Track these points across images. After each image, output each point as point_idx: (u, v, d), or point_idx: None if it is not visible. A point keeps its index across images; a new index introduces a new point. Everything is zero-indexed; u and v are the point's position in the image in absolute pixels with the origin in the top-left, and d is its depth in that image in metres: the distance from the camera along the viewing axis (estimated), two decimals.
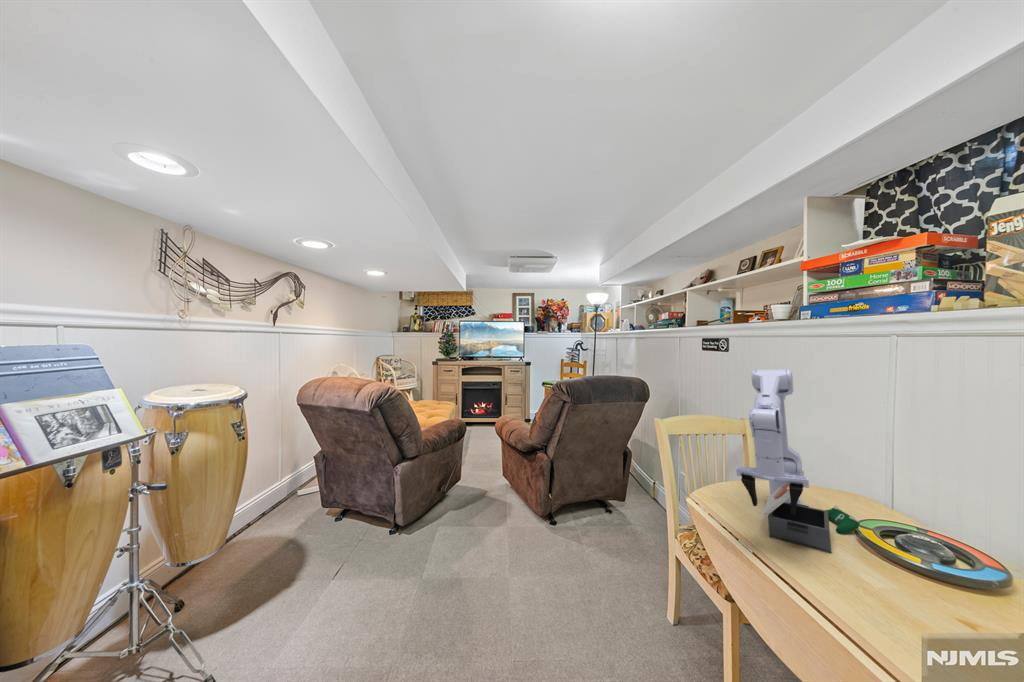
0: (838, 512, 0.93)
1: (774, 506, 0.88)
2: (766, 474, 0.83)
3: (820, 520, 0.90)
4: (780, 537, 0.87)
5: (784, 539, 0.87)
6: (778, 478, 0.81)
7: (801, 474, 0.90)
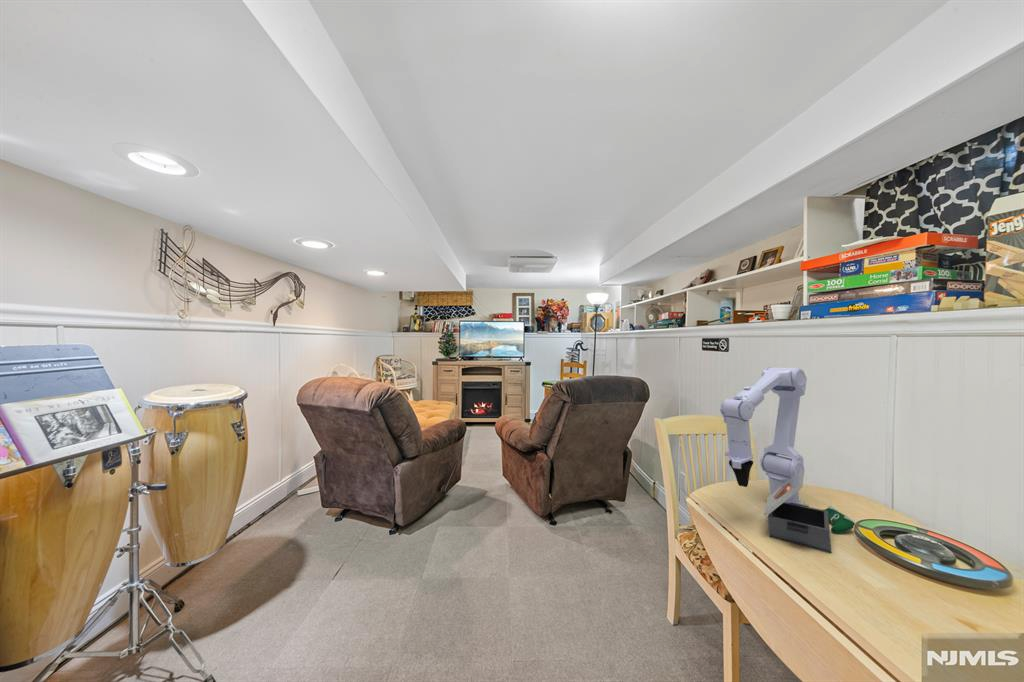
0: (833, 512, 0.93)
1: (774, 506, 0.88)
2: None
3: (820, 520, 0.90)
4: (780, 537, 0.87)
5: (784, 539, 0.87)
6: (729, 455, 0.98)
7: (801, 474, 0.90)
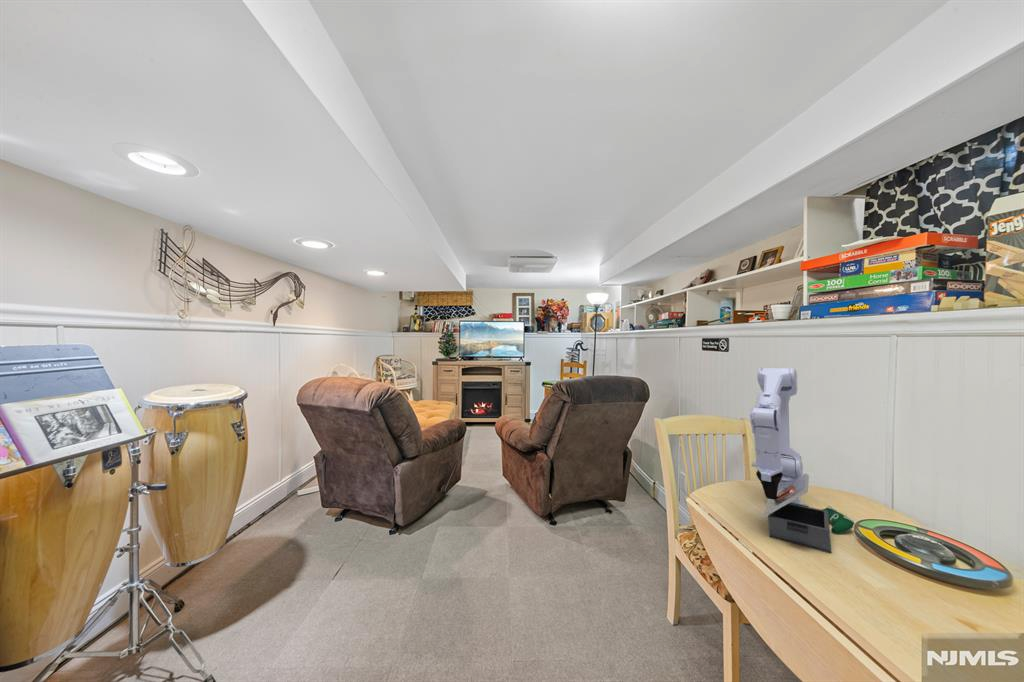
0: (832, 512, 0.93)
1: (776, 507, 0.87)
2: None
3: (820, 520, 0.90)
4: (780, 537, 0.87)
5: (784, 539, 0.87)
6: (756, 466, 0.94)
7: (806, 478, 0.90)
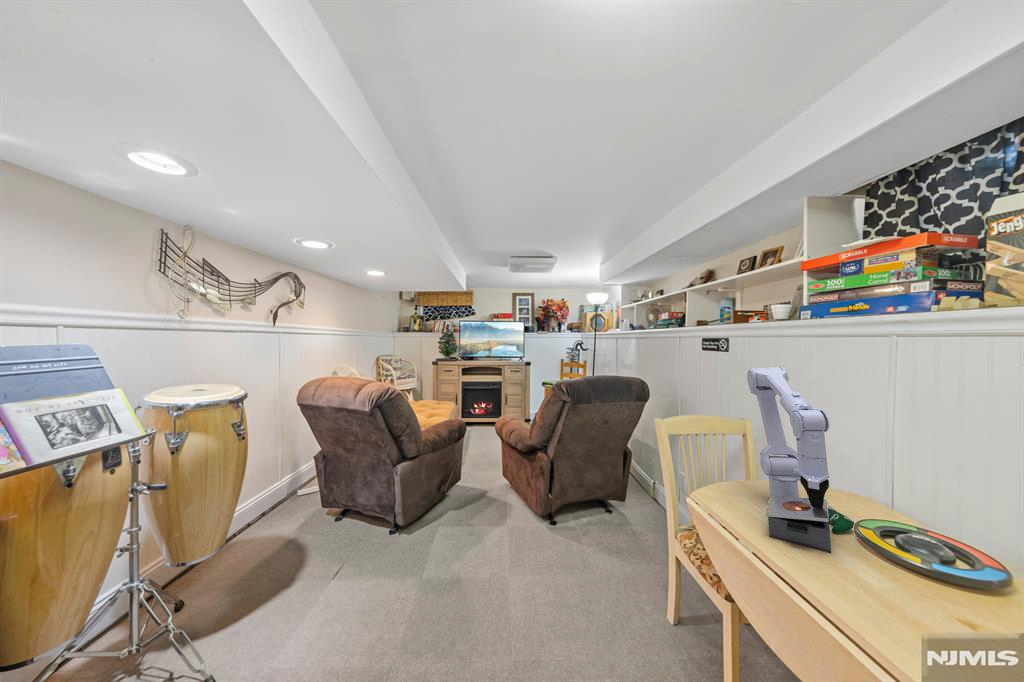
0: (832, 512, 0.93)
1: (782, 515, 0.86)
2: (799, 468, 0.89)
3: None
4: (780, 537, 0.87)
5: (784, 539, 0.87)
6: (800, 473, 0.87)
7: (827, 505, 0.87)
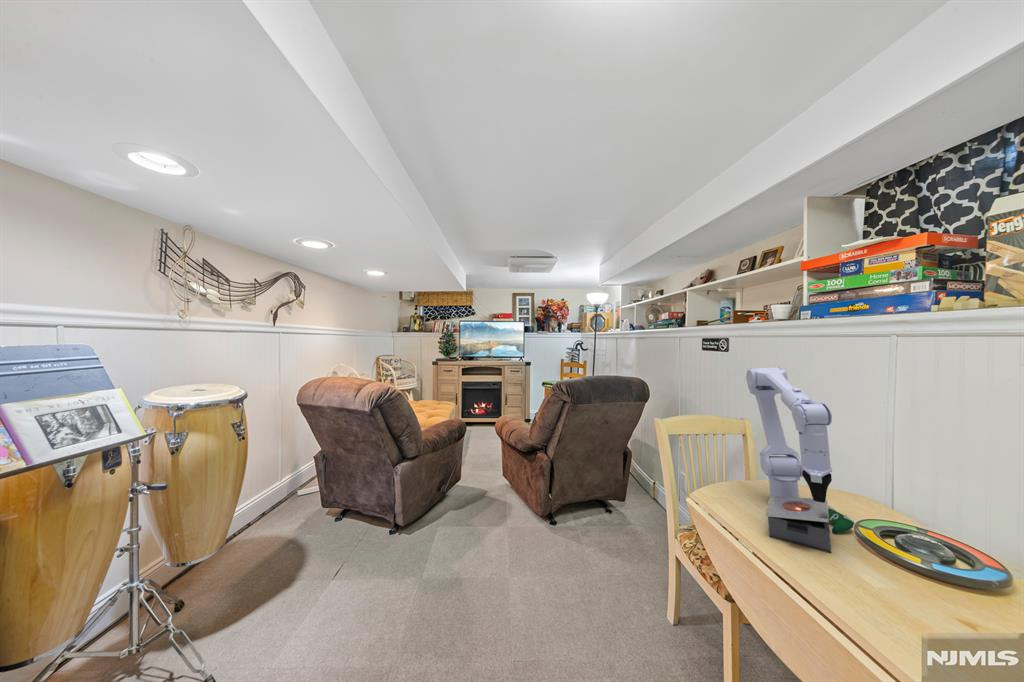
0: (832, 512, 0.93)
1: (782, 515, 0.86)
2: None
3: None
4: (780, 537, 0.87)
5: (784, 539, 0.87)
6: (802, 467, 0.87)
7: (827, 505, 0.87)
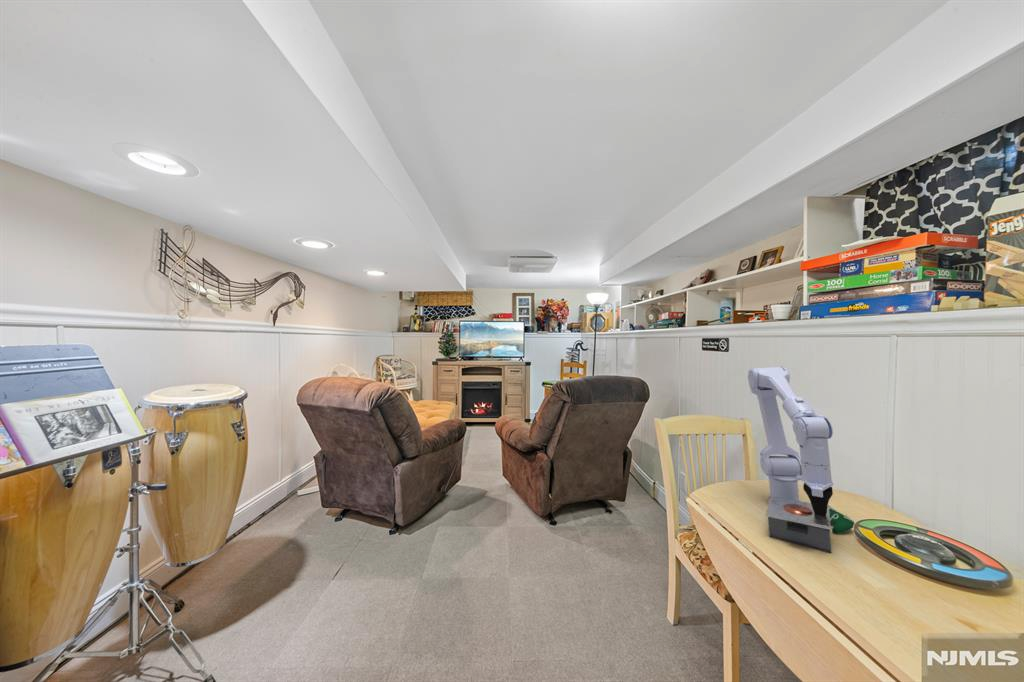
0: (832, 512, 0.93)
1: (783, 518, 0.86)
2: None
3: None
4: (780, 537, 0.87)
5: (784, 539, 0.87)
6: (803, 480, 0.87)
7: None
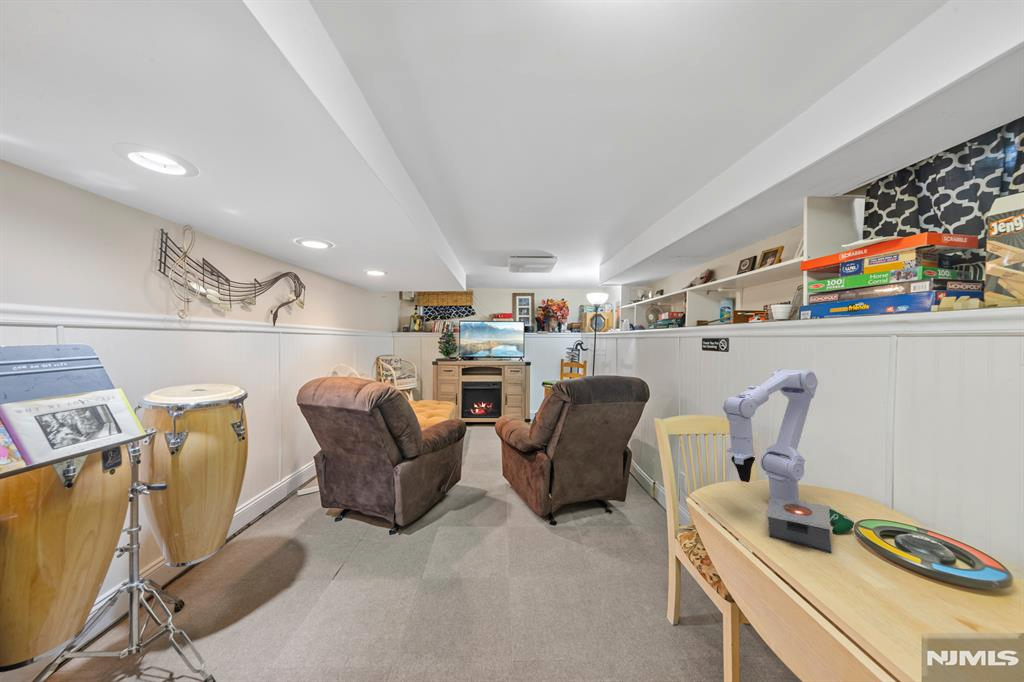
0: (832, 512, 0.93)
1: (783, 518, 0.86)
2: None
3: None
4: (780, 537, 0.87)
5: (784, 539, 0.87)
6: (731, 451, 1.01)
7: (829, 513, 0.87)
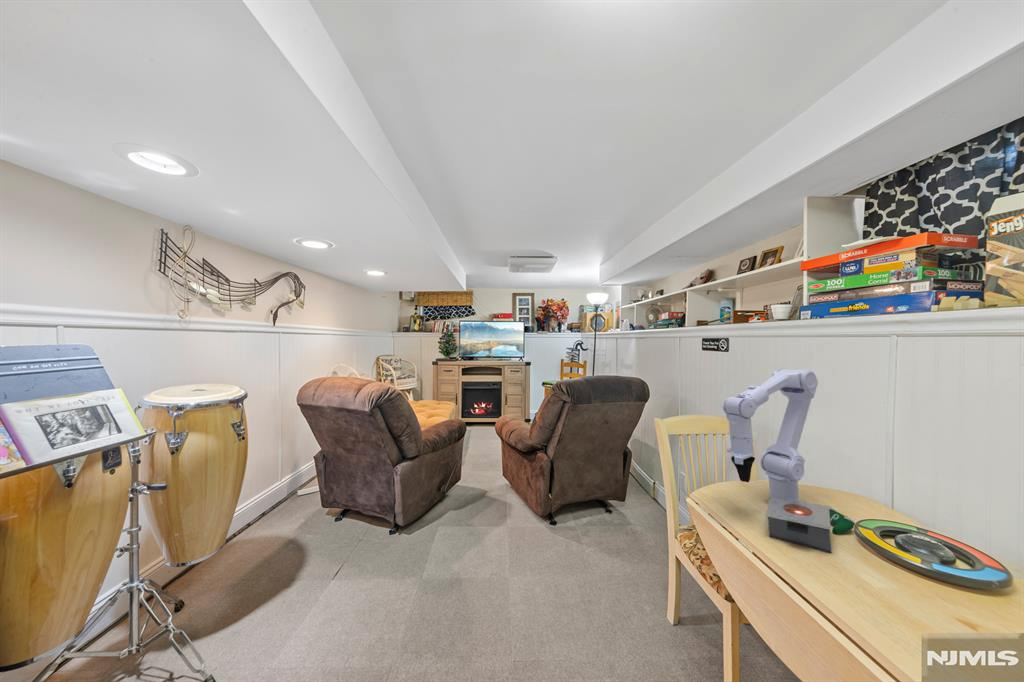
0: (832, 512, 0.93)
1: (783, 518, 0.86)
2: None
3: None
4: (780, 537, 0.87)
5: (784, 539, 0.87)
6: (731, 451, 1.01)
7: (829, 513, 0.87)
